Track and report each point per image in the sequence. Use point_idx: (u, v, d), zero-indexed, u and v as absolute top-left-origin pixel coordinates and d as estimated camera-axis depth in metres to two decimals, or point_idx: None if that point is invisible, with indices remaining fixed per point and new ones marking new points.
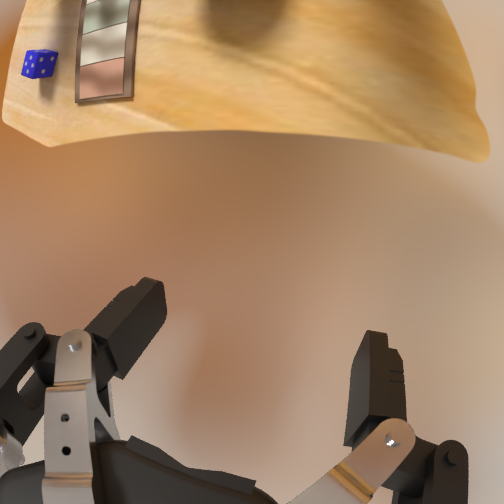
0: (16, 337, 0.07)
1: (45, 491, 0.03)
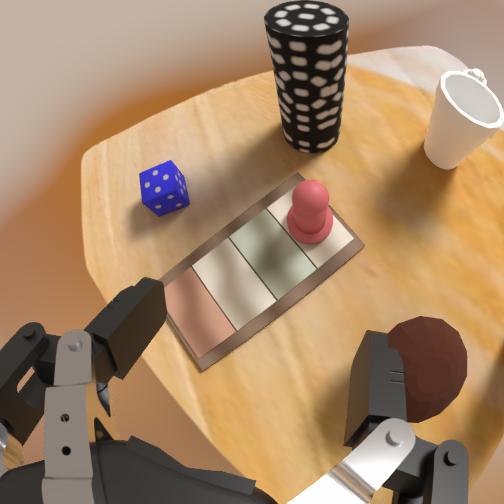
0: (16, 337, 0.07)
1: (45, 491, 0.03)
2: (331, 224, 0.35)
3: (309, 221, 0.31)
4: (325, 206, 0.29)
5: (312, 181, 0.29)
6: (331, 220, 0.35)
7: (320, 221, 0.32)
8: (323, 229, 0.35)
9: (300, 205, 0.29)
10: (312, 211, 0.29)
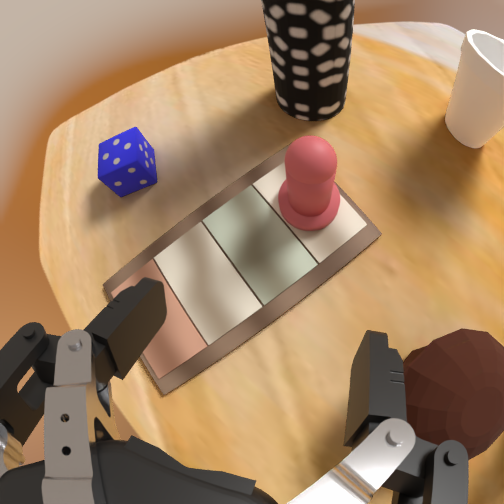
0: (16, 337, 0.07)
1: (45, 491, 0.03)
2: (338, 204, 0.26)
3: (309, 194, 0.22)
4: (332, 171, 0.20)
5: (313, 136, 0.19)
6: (337, 199, 0.26)
7: (324, 196, 0.22)
8: (327, 210, 0.26)
9: (296, 168, 0.20)
10: (314, 177, 0.19)
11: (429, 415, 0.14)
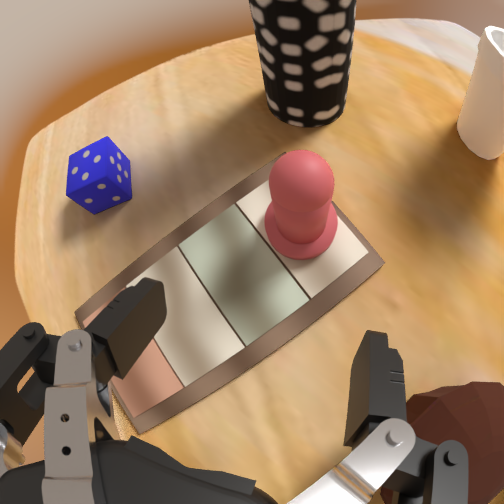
0: (16, 337, 0.07)
1: (45, 491, 0.03)
2: (334, 229, 0.22)
3: (299, 222, 0.18)
4: (328, 196, 0.16)
5: (305, 151, 0.16)
6: (334, 223, 0.22)
7: (318, 223, 0.19)
8: (322, 237, 0.22)
9: (282, 192, 0.16)
10: (304, 204, 0.16)
11: None
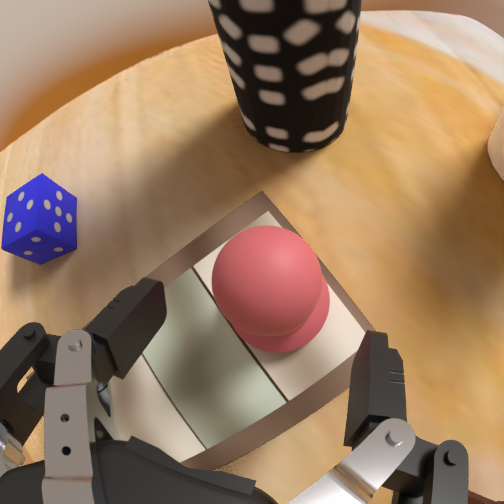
0: (16, 337, 0.07)
1: (45, 491, 0.03)
2: (325, 314, 0.15)
3: None
4: (308, 313, 0.09)
5: (271, 235, 0.09)
6: (325, 305, 0.16)
7: (296, 328, 0.12)
8: (306, 326, 0.15)
9: (229, 311, 0.09)
10: (266, 331, 0.09)
11: None
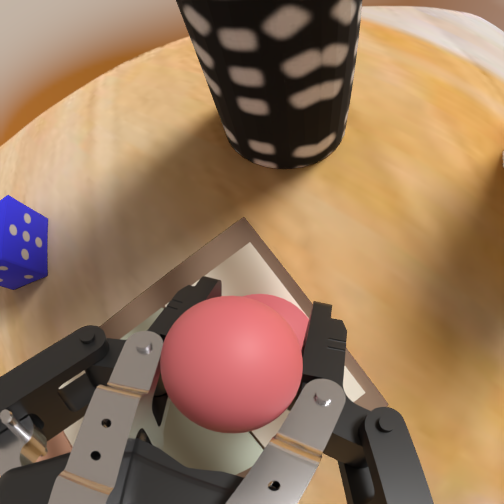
0: (73, 336, 0.08)
1: (57, 486, 0.03)
2: None
3: None
4: (282, 412, 0.07)
5: (230, 321, 0.07)
6: None
7: None
8: None
9: (180, 409, 0.07)
10: None
11: None
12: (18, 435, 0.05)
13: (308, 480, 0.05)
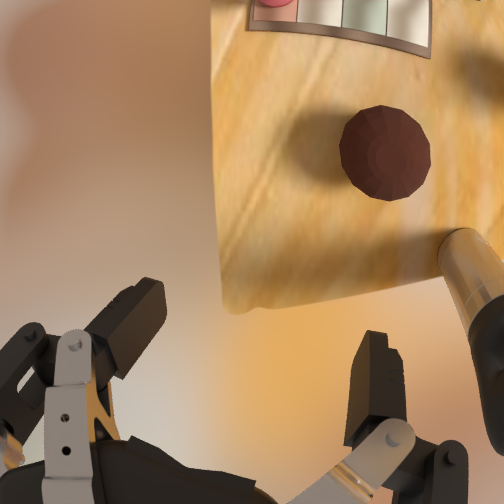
0: (16, 337, 0.07)
1: (45, 491, 0.03)
2: (284, 1, 0.28)
3: None
4: None
5: None
6: None
7: None
8: (276, 0, 0.28)
9: None
10: None
11: (369, 129, 0.28)
12: None
13: None
